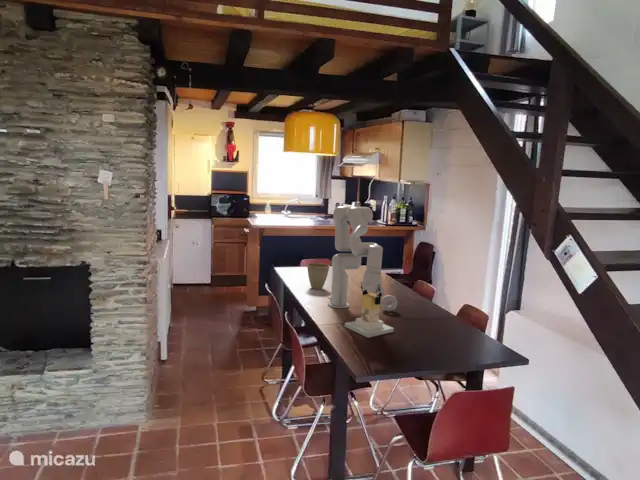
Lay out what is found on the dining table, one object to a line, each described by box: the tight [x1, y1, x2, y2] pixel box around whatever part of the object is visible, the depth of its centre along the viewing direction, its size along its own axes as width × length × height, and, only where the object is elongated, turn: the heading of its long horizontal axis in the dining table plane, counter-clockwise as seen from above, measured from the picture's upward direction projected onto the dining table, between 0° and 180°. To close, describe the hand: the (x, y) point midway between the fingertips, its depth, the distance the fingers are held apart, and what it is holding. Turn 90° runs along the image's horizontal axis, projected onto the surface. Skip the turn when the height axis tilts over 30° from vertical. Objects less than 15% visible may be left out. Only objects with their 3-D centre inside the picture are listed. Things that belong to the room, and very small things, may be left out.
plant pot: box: [307, 262, 330, 290], centre depth 326 cm, size 15×15×16 cm
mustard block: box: [361, 293, 381, 310], centre depth 249 cm, size 6×6×6 cm
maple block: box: [360, 306, 381, 323], centre depth 251 cm, size 6×6×6 cm
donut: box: [380, 294, 398, 312], centre depth 284 cm, size 10×3×10 cm, turn 98°
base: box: [344, 317, 395, 338], centre depth 251 cm, size 18×18×5 cm
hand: (371, 301), depth 249 cm, fingers open, 9 cm apart
